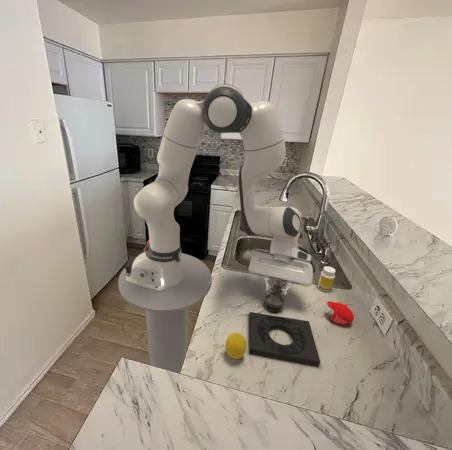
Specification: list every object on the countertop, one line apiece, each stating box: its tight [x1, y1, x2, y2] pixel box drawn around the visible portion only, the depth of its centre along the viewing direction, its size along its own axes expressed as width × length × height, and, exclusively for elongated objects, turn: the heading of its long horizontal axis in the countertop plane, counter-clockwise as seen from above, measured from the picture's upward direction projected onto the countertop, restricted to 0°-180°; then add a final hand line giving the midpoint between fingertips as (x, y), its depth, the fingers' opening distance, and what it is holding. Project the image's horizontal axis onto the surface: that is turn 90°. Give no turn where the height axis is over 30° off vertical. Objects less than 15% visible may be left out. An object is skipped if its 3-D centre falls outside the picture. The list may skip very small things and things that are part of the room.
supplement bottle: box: [316, 265, 337, 292], centre depth 94 cm, size 5×5×8 cm
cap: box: [326, 300, 355, 326], centre depth 81 cm, size 8×6×6 cm
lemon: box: [224, 332, 247, 360], centre depth 68 cm, size 6×6×8 cm
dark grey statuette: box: [264, 279, 284, 314], centre depth 84 cm, size 6×6×12 cm
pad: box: [248, 311, 321, 367], centre depth 75 cm, size 18×14×2 cm
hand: (275, 293), depth 83 cm, fingers closed on dark grey statuette, 3 cm apart
